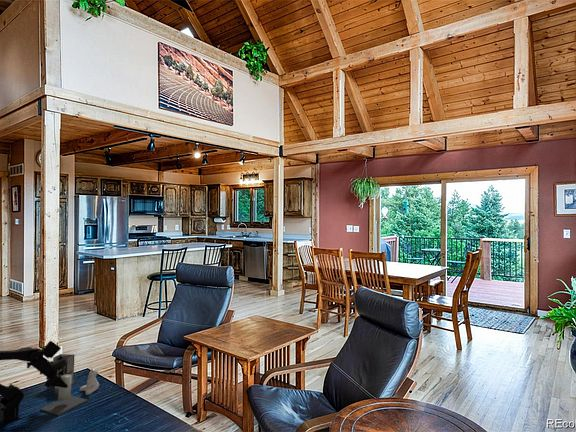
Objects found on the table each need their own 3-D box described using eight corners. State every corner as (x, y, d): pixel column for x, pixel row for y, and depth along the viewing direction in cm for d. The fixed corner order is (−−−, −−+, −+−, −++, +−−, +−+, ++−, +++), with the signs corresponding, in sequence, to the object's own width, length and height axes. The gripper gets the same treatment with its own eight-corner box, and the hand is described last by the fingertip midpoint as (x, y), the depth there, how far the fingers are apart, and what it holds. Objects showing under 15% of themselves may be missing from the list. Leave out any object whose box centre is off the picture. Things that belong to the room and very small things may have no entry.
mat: (58, 415, 177) (58, 414, 177) (40, 410, 182) (40, 408, 182) (87, 401, 192) (87, 399, 192) (69, 396, 197) (69, 395, 197)
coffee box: (74, 381, 216) (75, 354, 216) (66, 386, 209) (67, 358, 210) (59, 381, 216) (60, 353, 217) (51, 385, 210) (52, 357, 211)
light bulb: (63, 401, 183) (64, 379, 184) (55, 399, 185) (56, 377, 186) (73, 397, 188) (74, 375, 189) (65, 395, 190) (66, 373, 191)
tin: (60, 396, 197) (61, 381, 197) (51, 394, 200) (52, 379, 200) (72, 391, 204) (73, 376, 204) (63, 388, 206) (64, 374, 206)
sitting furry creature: (78, 390, 204) (79, 369, 204) (94, 385, 211) (95, 364, 211) (86, 395, 198) (87, 373, 199) (102, 390, 205) (103, 368, 206)
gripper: (54, 359, 178) (79, 378, 182) (60, 347, 195) (83, 365, 199) (34, 377, 174) (59, 397, 178) (42, 364, 191) (65, 382, 195)
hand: (68, 384), depth 188 cm, fingers closed on light bulb, 5 cm apart
